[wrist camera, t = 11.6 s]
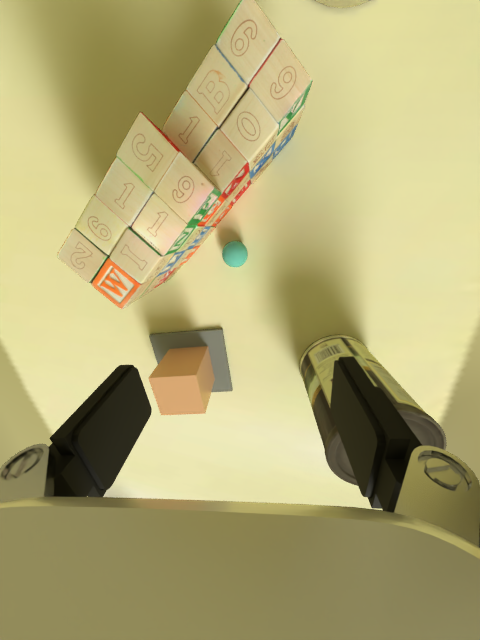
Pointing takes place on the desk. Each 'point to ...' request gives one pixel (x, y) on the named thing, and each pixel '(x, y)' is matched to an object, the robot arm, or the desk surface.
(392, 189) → the desk surface
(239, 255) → the ball
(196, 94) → the stack of blocks
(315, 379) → the coffee can
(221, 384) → the mat
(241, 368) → the desk surface
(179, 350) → the tan cardboard-coloured cube
